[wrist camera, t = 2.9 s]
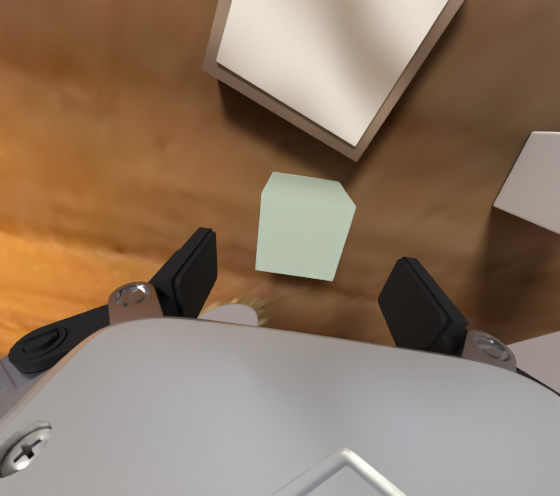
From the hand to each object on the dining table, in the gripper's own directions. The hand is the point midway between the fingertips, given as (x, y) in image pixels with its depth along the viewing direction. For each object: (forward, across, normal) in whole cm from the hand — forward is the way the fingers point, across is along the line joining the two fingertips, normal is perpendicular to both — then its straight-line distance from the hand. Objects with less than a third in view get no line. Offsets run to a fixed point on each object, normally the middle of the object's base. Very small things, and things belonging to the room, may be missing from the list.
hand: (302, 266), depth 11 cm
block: (+11, 0, +1) cm, 11 cm away
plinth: (+11, 0, -12) cm, 16 cm away
